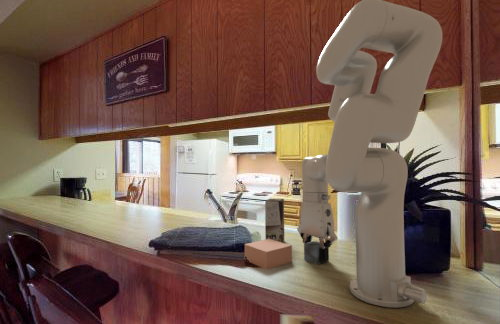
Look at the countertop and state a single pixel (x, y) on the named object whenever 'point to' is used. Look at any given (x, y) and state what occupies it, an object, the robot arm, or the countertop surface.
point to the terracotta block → (268, 253)
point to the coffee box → (274, 219)
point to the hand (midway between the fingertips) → (316, 258)
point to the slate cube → (312, 252)
